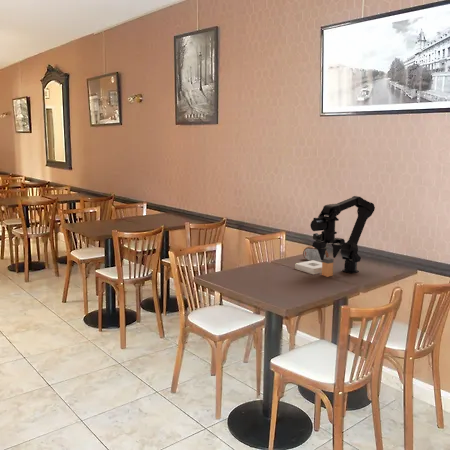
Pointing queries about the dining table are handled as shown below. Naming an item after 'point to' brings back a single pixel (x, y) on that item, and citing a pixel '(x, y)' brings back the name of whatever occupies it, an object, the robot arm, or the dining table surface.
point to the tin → (313, 254)
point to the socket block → (309, 267)
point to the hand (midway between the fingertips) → (328, 259)
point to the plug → (327, 267)
